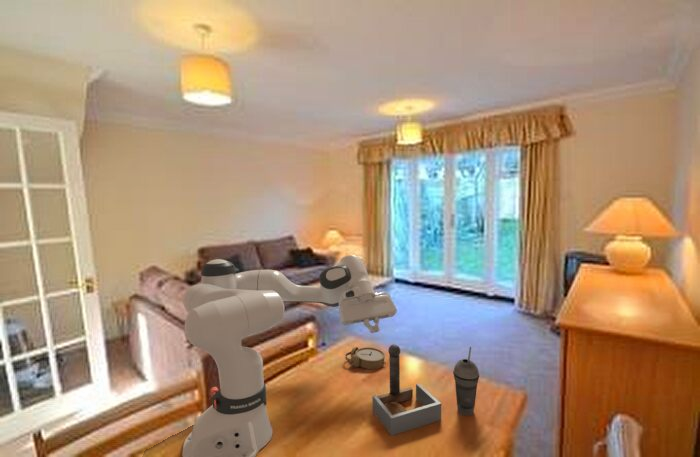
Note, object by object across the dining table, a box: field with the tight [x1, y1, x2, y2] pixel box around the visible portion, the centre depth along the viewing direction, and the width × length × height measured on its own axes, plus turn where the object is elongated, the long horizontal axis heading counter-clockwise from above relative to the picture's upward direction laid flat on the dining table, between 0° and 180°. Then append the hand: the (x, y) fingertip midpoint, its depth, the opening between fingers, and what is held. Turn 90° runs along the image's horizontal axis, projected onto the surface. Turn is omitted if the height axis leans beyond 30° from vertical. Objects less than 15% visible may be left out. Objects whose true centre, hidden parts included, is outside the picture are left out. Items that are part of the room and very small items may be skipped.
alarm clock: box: [344, 346, 386, 370], centre depth 136 cm, size 11×5×15 cm
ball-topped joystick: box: [376, 344, 414, 404], centre depth 109 cm, size 12×4×18 cm, turn 112°
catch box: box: [371, 383, 442, 436], centre depth 104 cm, size 16×12×5 cm
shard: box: [384, 402, 408, 415], centre depth 103 cm, size 11×8×2 cm
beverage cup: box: [452, 346, 480, 417], centre depth 104 cm, size 7×7×20 cm
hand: (375, 331), depth 120 cm, fingers closed
